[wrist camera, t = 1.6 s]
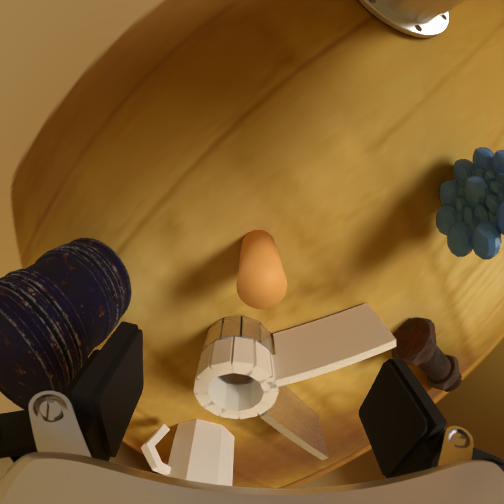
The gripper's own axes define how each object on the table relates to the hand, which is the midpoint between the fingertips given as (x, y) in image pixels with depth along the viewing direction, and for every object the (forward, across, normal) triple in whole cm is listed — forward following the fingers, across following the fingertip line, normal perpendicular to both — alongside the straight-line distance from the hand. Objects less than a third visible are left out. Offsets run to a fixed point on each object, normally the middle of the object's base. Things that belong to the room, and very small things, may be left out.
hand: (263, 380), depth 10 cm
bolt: (+17, -24, +9) cm, 31 cm away
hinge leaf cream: (+17, -5, +7) cm, 19 cm away
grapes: (+17, -19, -10) cm, 27 cm away
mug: (+18, +4, +26) cm, 32 cm away
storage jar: (+17, +16, +6) cm, 24 cm away
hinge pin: (+17, 0, -1) cm, 17 cm away
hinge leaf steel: (+17, -5, +14) cm, 22 cm away
